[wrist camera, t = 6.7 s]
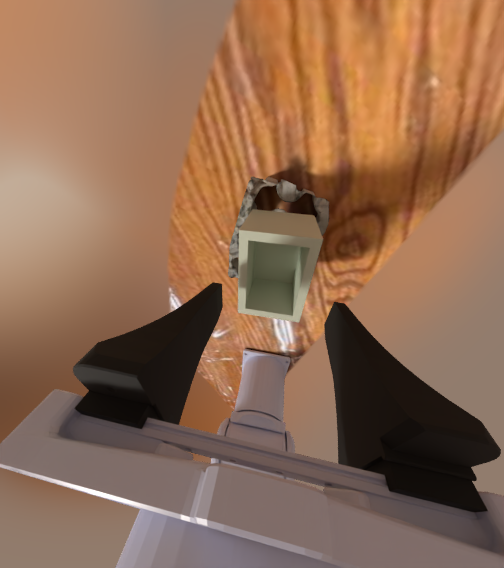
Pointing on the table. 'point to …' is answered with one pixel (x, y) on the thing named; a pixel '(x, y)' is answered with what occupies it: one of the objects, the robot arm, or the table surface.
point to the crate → (276, 263)
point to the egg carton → (287, 194)
